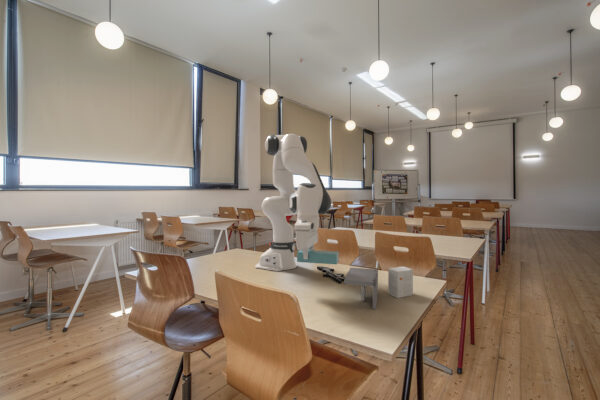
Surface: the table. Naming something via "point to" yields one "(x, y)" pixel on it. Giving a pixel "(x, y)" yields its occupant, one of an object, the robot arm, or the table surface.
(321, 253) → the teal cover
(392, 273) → the small box
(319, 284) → the table surface
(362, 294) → the overhang shelf
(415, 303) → the table surface
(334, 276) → the black toy gun
